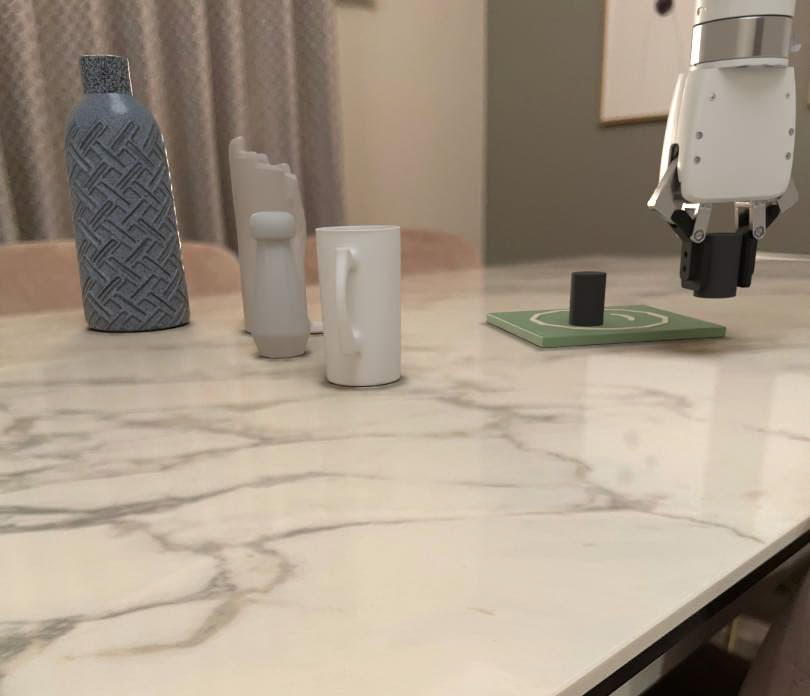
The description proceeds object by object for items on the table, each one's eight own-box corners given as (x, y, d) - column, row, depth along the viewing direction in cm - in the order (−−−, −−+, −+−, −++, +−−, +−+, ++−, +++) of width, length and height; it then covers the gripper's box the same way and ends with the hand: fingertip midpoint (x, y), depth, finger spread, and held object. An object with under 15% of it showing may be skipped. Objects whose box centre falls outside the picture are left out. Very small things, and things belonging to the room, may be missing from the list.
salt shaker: (324, 351, 83) (316, 210, 78) (287, 361, 79) (276, 212, 74) (278, 347, 86) (267, 210, 81) (240, 356, 82) (226, 212, 77)
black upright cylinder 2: (721, 292, 77) (727, 231, 75) (744, 296, 74) (751, 233, 72) (685, 294, 77) (690, 233, 75) (706, 299, 73) (713, 236, 71)
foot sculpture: (363, 332, 93) (356, 132, 86) (239, 335, 94) (220, 135, 86) (368, 322, 100) (361, 135, 92) (251, 324, 100) (235, 138, 93)
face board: (642, 313, 103) (643, 303, 103) (725, 336, 87) (727, 325, 86) (486, 321, 99) (486, 311, 99) (542, 347, 83) (542, 336, 83)
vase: (136, 336, 94) (95, 46, 83) (64, 328, 100) (18, 57, 89) (212, 320, 104) (184, 58, 93) (142, 315, 110) (109, 67, 99)
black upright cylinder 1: (594, 320, 92) (597, 270, 90) (608, 325, 89) (612, 273, 87) (563, 322, 91) (566, 272, 89) (576, 327, 88) (579, 275, 86)
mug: (336, 369, 75) (329, 225, 71) (410, 371, 74) (407, 225, 69) (301, 395, 66) (290, 233, 62) (385, 398, 65) (380, 232, 60)
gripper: (801, 55, 73) (772, 277, 80) (622, 58, 70) (609, 289, 77) (862, 42, 66) (825, 286, 73) (668, 45, 63) (649, 299, 70)
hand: (715, 285), depth 75 cm, fingers closed on black upright cylinder 2, 3 cm apart
